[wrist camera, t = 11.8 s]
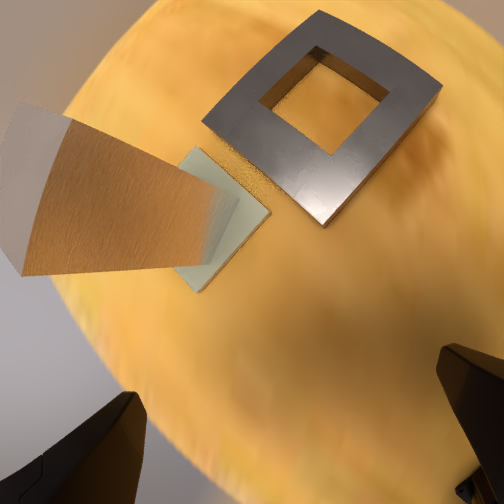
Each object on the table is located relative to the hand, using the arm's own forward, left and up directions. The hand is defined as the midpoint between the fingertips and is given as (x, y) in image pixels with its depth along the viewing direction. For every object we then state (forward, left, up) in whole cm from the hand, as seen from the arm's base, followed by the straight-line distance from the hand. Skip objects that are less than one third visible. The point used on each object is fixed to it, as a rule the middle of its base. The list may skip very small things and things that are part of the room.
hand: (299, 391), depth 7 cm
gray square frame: (+9, -10, -10) cm, 17 cm away
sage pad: (+10, +1, -10) cm, 15 cm away
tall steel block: (+10, +1, -10) cm, 14 cm away
